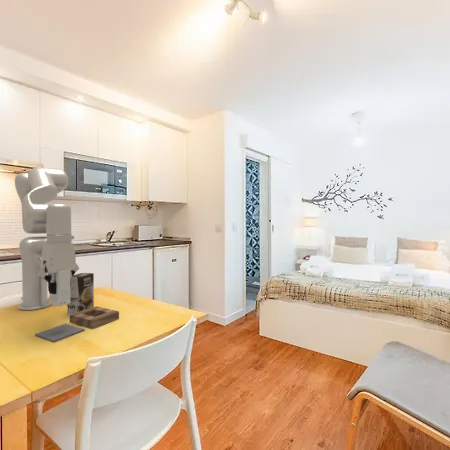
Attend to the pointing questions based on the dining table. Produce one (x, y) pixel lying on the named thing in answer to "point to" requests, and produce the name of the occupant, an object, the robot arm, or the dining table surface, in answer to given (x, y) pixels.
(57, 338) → the coaster
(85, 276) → the coffee box
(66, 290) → the skincare box
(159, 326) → the dining table surface
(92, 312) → the pocket block
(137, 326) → the dining table surface
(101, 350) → the dining table surface
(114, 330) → the dining table surface
